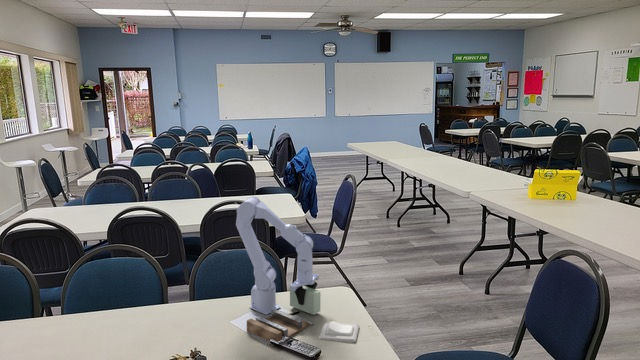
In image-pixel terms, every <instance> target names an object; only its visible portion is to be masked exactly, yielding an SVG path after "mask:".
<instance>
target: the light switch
mask: <svg viewBox="0 0 640 360" xmlns="http://www.w3.org/2000/svg"><path fill="white" fill-rule="evenodd" d="M359 329H360V325H359V324H357V323H343V322H342V323H341V322H338V321H333V320H332V321H330V322H325V323H324V324H323V327H322V329H321V332H320V334H319V337H318V340H325V341H335V342H342V343H356V342H357V339H358V334H359Z"/></svg>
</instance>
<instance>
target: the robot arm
mask: <svg viewBox="0 0 640 360" xmlns="http://www.w3.org/2000/svg"><path fill="white" fill-rule="evenodd" d="M253 219H263V220H265V221H266V222H268V223H269V224H270V225H271V226H273V227H275V229H277V230H278V231H279V232H280V236H281V237H282V238H283V239H284V240H286V241H287V242H288V243H289V244H290V245H291V246H293V247H294V248H295V251H296V253H297V260H296V261H297V267H296V268H297V273H296V274H297V278H296V280H295V281H294V282H292V284H290V286H289V291H290V290H292V291H294V292H295V294H296V297H297V300H298V304H300V305H304V297H305V293H306V289H304V288H303V286H307V287H309V288H312V289H315V290H316V288H317V286H318V282H317V281H318V280H319V279H320V277H319V276H320V274H318V273H313V265H314V264H313V248H314V241H313V239H312V237H311V236H309V235H306V234H305V233H304V234H303V232H301V231H300V230H298V228H297V225H295V224H294V225H293V224H292V223H285V221H284V220H282V219H281V218H280V217H279V216H278V215H277V214H276V213H275V212H274V211H273V210H272V209H270V207H268V205H267V204H265V202H264V201H262V200H260V199H259V198H258V197H257V196H249V197H247V198H246V199H245V200H244V201H243V202H241V203H240V204H239V206H238V208H237V209H236V220H235V226H236V229H237V231H238V233H239V236H240V238H241V241H242V243H243V244H244V247H245V250H246V252H247V256H248V258H249V259H250V261H251V264H252V266H253V276H254V285H253V286H252V288H251V290H250V303H251V305H250V306H249V309H252V310H255V311H257V312H259V313H261V314H263V315H266V316H267V315H269V314H271V310H273V309H276V310H278V309H280V308H282V307H281V305H278V304H277V301H276V298H277V296H276V292H277V291H276V283H275V279H276V278H277V271H276V270H275V268H274V267H272V265H271V263H270V261H268V260H267V259H266V256H265V253H264V252H263V250H262V248H261V246H260V245H261V244H260V242H259V240H258V238H257V236H256V233H255V230H254V229H253V226H252V222H253Z"/></svg>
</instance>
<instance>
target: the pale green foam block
mask: <svg viewBox="0 0 640 360" xmlns="http://www.w3.org/2000/svg"><path fill="white" fill-rule="evenodd" d="M303 288H304V289H306V293H305V297H304V305H300V304H298V300H297V297H296V294H295V292H294V291H292V290H290V289H289V306H290V307H292V308H295V309H297V310H299V311H303V312H306V313H308V314H311V315H316V314H317V313H319V312H321V291H320V290H318V289H316V288H315V289H312V288H309V287H307V286H303Z"/></svg>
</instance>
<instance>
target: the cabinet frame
mask: <svg viewBox="0 0 640 360" xmlns="http://www.w3.org/2000/svg"><path fill="white" fill-rule="evenodd" d="M311 325H312V324H311V322H309V321H307V320H304V319H301V318H298V317H296V316H295V315H294V316H293V315H292V314H289V313H286V312H283V311H281V310H278V309H277V310H276V309H273V310H271V313H270V316H268V317H266V318H264V317H262V316H257V317H255V319H253V318H249V319H246V332H248V333H249V334H250V333H251V334H252V335H255V336H256V337H259V338H260V339H263V340H264V341H265V340H266V341H268V342H269V341H270V339H273V340H275V341H277V342H278V341H280V340H282V336H284V337H285V336H287V337H291V338H292V337H294V336H296V335H298V334H299V333H301V332H302V331H304V330H306V329H308V328H309V327H311Z"/></svg>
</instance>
